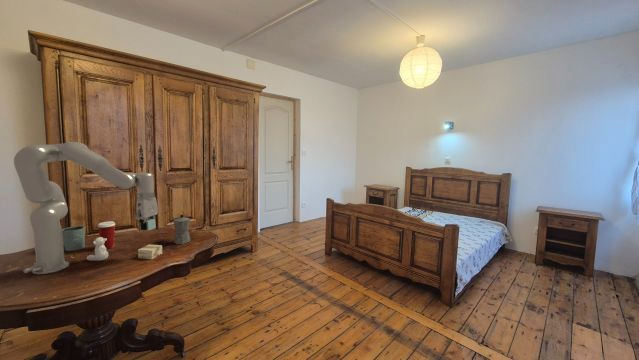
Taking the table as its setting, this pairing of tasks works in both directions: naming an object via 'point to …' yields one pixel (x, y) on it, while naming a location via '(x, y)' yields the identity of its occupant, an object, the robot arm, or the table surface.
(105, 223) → the coffee cup
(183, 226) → the coffeepot
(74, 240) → the teal plant pot
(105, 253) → the sitting furry creature
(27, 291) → the table surface
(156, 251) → the beech block
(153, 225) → the teal cube
